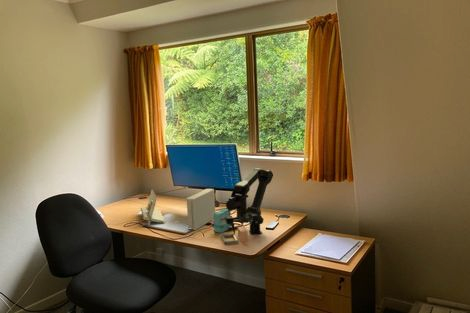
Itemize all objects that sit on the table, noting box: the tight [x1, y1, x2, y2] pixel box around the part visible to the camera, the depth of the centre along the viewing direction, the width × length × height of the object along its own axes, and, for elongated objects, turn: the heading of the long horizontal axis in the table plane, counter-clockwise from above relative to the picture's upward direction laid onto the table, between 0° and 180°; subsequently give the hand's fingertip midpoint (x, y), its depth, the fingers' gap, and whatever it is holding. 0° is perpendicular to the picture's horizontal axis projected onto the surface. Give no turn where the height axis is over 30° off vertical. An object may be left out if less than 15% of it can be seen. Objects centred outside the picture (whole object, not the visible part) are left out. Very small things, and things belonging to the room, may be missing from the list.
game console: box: [186, 188, 216, 231], centre depth 239 cm, size 6×27×20 cm, turn 156°
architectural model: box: [140, 188, 166, 225], centre depth 253 cm, size 20×29×21 cm
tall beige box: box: [237, 226, 249, 243], centre depth 209 cm, size 8×4×6 cm, turn 11°
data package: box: [213, 208, 232, 234], centre depth 225 cm, size 12×4×12 cm, turn 148°
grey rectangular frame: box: [220, 233, 239, 246], centre depth 208 cm, size 12×8×2 cm, turn 11°
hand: (242, 233), depth 209 cm, fingers open, 9 cm apart
